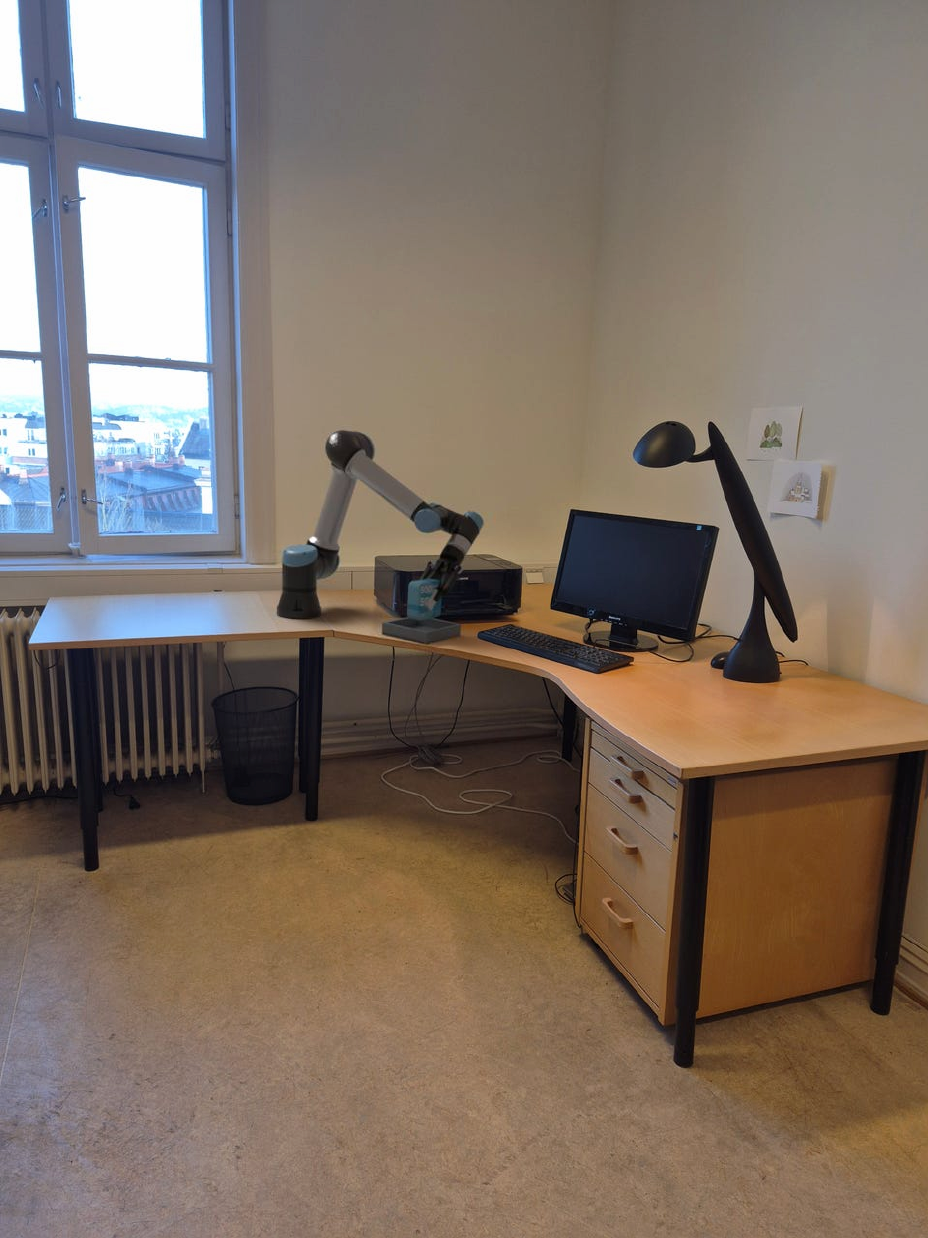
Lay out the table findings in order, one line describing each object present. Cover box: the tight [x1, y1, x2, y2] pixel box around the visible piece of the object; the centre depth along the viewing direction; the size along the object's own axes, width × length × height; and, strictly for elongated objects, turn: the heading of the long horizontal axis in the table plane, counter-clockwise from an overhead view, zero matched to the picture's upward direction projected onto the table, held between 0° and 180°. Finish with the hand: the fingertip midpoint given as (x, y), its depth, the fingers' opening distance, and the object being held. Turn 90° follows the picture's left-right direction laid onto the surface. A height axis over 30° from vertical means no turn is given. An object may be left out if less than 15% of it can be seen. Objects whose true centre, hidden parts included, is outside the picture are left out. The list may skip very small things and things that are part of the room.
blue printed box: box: [406, 579, 443, 621], centre depth 242 cm, size 12×4×12 cm, turn 145°
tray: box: [381, 616, 462, 646], centre depth 244 cm, size 18×18×4 cm
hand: (421, 606), depth 241 cm, fingers closed on blue printed box, 4 cm apart
